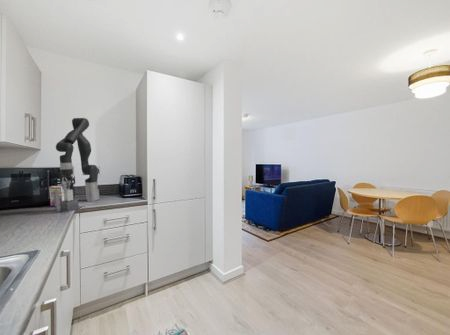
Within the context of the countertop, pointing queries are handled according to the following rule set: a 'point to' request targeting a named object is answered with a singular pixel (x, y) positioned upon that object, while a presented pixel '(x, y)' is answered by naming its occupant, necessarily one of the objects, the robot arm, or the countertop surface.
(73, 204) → the stand base
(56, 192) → the arrow post
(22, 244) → the countertop surface
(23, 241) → the countertop surface
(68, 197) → the column
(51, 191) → the candy bar box
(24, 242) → the countertop surface
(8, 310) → the countertop surface
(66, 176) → the robot arm
